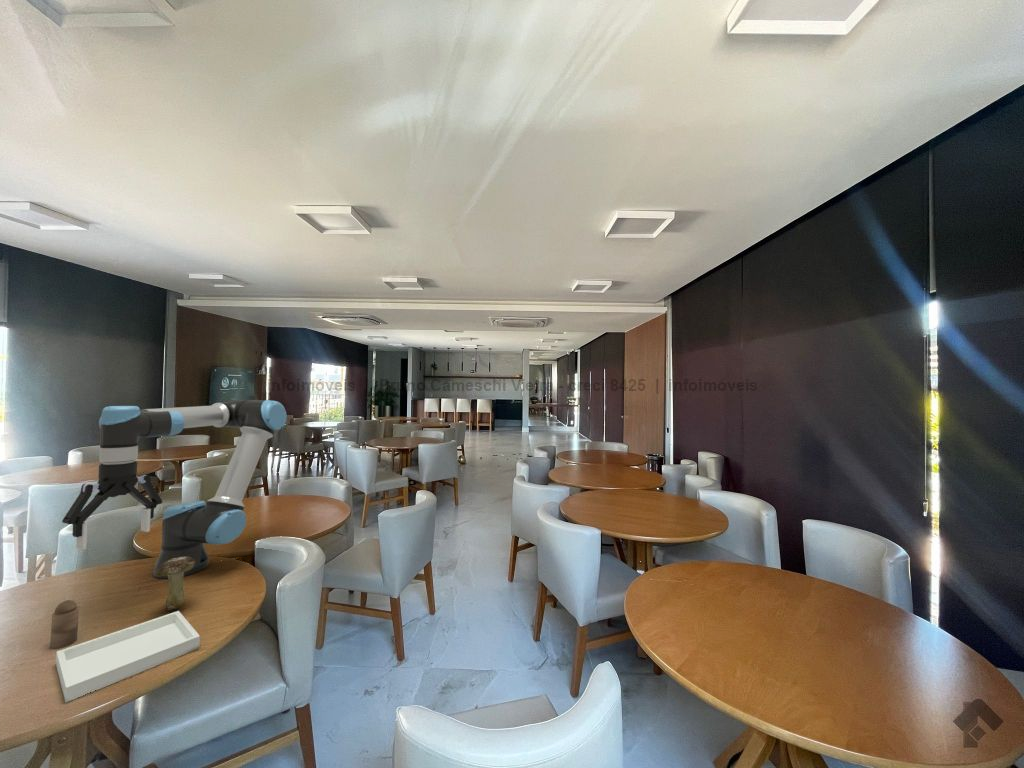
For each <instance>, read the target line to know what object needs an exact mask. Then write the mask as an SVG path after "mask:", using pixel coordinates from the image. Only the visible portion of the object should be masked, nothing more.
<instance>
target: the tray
mask: <svg viewBox="0 0 1024 768" xmlns="http://www.w3.org/2000/svg"><path fill="white" fill-rule="evenodd" d="M200 638H201V636H200V634H199V633H198V632H197V630H196V629H195V628H194V627H193V626H192V625H191V624H190V622H189V621H188V620H187V619H186V618H185V617H184V616H183V613H182V612H180V610H177V611H176V610H175V611H172V612H171V613H168V614H165V615H162V616H159V617H156V618H153V619H150V620H147V621H144V622H141V623H138V624H135V625H131V626H129V627H126V628H123V629H120V630H117V631H114V632H111V633H108V634H105V635H101V636H99V637H96V638H94V639H90V640H88V641H84V642H81V643H78V644H75V645H71V646H68V647H66V648H64V649H63V648H62V649H61V650H60V649H59V650H57V651H56V654H55V655H56V656H55V666H56V672H57V676H58V678H59V679H58V680H59V685H60V687H61V692H62V695H63V700H64V703H65V704H67V703H68V702H71V701H73V700H77V699H78V697H79V698H82V697H83V695H84V696H86V695H88V694H87V693H89V694H91V693H93V692H96V691H98V690H100V689H103V688H105V687H109V686H110V685H113V684H115V683H118V682H120V681H123V680H125V679H128V678H130V677H133V676H134V675H136V674H137V675H138V674H139V673H142V672H145V671H147V670H149V669H152V668H154V667H157V666H159V665H162V664H164V663H166V662H169V661H172V660H174V659H176V658H179V657H181V656H184V655H186V654H188V653H191V652H194V651H196V650H198V649H200V645H201V644H200V642H201V641H200V640H201V639H200ZM95 690H96V691H95ZM90 692H91V693H90ZM85 694H86V695H85Z"/></svg>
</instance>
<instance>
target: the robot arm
mask: <svg viewBox="0 0 1024 768" xmlns="http://www.w3.org/2000/svg"><path fill="white" fill-rule="evenodd" d="M287 416H288V415H287V411H286V408H285V407H284V405H283V404H282V403H281V402H279V401H278V400H277V401H276V400H272V399H271V400H270V399H266V400H262V399H261V400H260V399H240V400H232V401H225V402H224V401H222V402H215V403H213V404H211V405H201V406H200V405H198V406H182V407H181V406H180V407H164V408H163V407H161V408H159V407H158V408H145V409H143V408H142V409H140V407H139V406H137V405H112V406H111V405H110V406H106V407H104V408H103V409H102V411H101V415H100V418H99V420H98V427H99V429H100V434H99V435H100V437H99V438H100V439H99V446H100V447H99V459H98V461H99V462H100V464H98V476H97V477H98V481H97V482H96V483H92V484H91V483H90V484H89V483H83V484H82V485H81V489H80V493H79V494H78V496H77V497H76V499H75V501H74V502H73V504H72V505H71V506H70V508H69V510H68V511H67V513H66V514H65V516H64V517H63V518H62V521H61V522H62V523H63V524H67V525H72V537H73V538H76V546H75V547H76V549H79V550H86V549H87V546H88V525H89V523H87V522H85V521H87V519H88V518H90V516H91V515H93V513H94V512H95V511H96V510H97V509H98V508H99V507H100V506H101V505H102V504H103V502H105V501H107V500H108V499H109V498H116V497H119V496H126V495H128V494H129V495H131V497H133V498H134V499H135V500H136V501H138V503H140V504H141V505H142V506H144V507H143V508H141V514H140V516H141V517H140V532H141V531H142V532H145V533H148V532H150V531H151V520H152V519H153V518H154V517H155V513H154V512H155V509H156V508H157V507H158V505H161V504H162V503H163V499H162V498H161V496H160V495H159V493H158V492H157V490H156V488H155V487H154V485H153V483H152V481H151V475H149V474H141V475H139V476H137V473H138V462H137V461H136V460H138V458H139V456H138V455H139V441H140V439H145V438H156V437H157V438H158V437H169V436H174V435H178V434H180V433H181V432H182V431H183V430H184V429H192V428H200V427H201V428H202V427H211V426H213V427H214V428H237V429H239V430H240V432H241V436H240V438H239V441H238V442H237V445H236V447H235V448H234V451H233V454H232V455H231V459H230V461H229V463H228V465H227V468H226V470H225V472H224V474H223V476H222V478H221V481H220V483H219V486H218V487H217V490H216V492H215V495H214V496H213V497H212V498H209V499H208V500H207V501H205V500H195V501H189V502H184V503H182V502H181V503H179V504H175V505H171V506H168V507H166V508H165V509H164V511H163V516H162V519H161V521H162V523H161V527H162V528H161V547H160V548H161V549H160V553H159V555H158V558H156V562H155V564H154V566H153V571H152V572H153V573H152V575H153V577H154V578H157V579H168V575H166V576H160V577H159V576H157V575H156V573H155V572H156V569H157V568H158V567H159V566H160V565H161V564H162V563H164V562H165V561H167V560H170V559H173V558H178V557H183V556H186V557H191V558H193V559H194V560H195V565H194V567H193V568H192V569H190V570H188V571H185V572H184V576H183V577H185V576H189V575H192V574H196V573H198V572H200V571H202V570H204V569H206V568H207V567H208V566H209V564H210V557H209V554H208V551H207V549H206V546H205V544H209V545H213V546H216V545H226V544H230V543H232V542H233V541H235V540H236V539H237V538H238V537H239V536H240V535H241V534H242V533H243V532H244V530H245V528H246V525H247V515H246V513H245V512H244V509H245V504H244V502H243V500H244V497H245V494H246V492H247V490H248V487H249V484H250V483H251V480H252V477H253V475H254V472H255V470H256V468H257V465H258V462H259V460H260V457H261V456H262V453H263V450H264V448H265V445H266V442H267V440H269V439H271V438H273V437H274V435H275V431H279V430H281V429H283V428H284V426H285V425H286V423H287ZM137 483H139V484H141V486H142V488H143V489H144V491H145V493H146V494H147V496H148V497H149V498H148V497H146V496H145V495H144V494H143V493H141V491H139V489H137V487H135V486H136V485H137ZM96 489H97V490H98V492H97V493H96V494H95V495H94V496H93V498H92V499H91V501H90V502H89V503H88V500H89V499H90V498H91V496H92V494H93V493H94V492H95V491H96ZM86 504H87V505H86Z"/></svg>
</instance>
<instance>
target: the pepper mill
mask: <svg viewBox="0 0 1024 768" xmlns="http://www.w3.org/2000/svg"><path fill="white" fill-rule="evenodd" d="M79 611H80V607H79V606H77V603H76V601H74V600H71V599H69V600H64V601H62V602H60V603H59V604H58V605H57V606H56V607H55V609H54V611H53V612H52V615H51V625H50V626H51V629H50V644H49V645H50V646H49V649H50V650H57V649H59V650H60V649H63V648H65V647H66V648H67V647H70V645H71V646H72V645H73V644H75V643H76V642H77V641H78V626H79Z"/></svg>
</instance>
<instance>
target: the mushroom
mask: <svg viewBox="0 0 1024 768" xmlns="http://www.w3.org/2000/svg"><path fill="white" fill-rule="evenodd" d="M194 565H195V560H194V559H193V558H191V557H186V556H183V557H178V558H173V559H170V560H167V561H165V562H164V563H162V564H161V565H160V566H159V567H158V568H157V569H156V572H155V573H156V575H157V576H159V577H160V576H166V575H168V578H167V579H168V588H167V589H168V590H167V591H168V592H167V598H166V599H165V600H166V601H165V610H166V611H168V612H176V610H177V611H178V609H179V608H180V607H181V606H182V605H183V603H184V602H185V589H184V577H185V576H184V572H185V571H188V570H190V569H192V568H193V567H194Z"/></svg>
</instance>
